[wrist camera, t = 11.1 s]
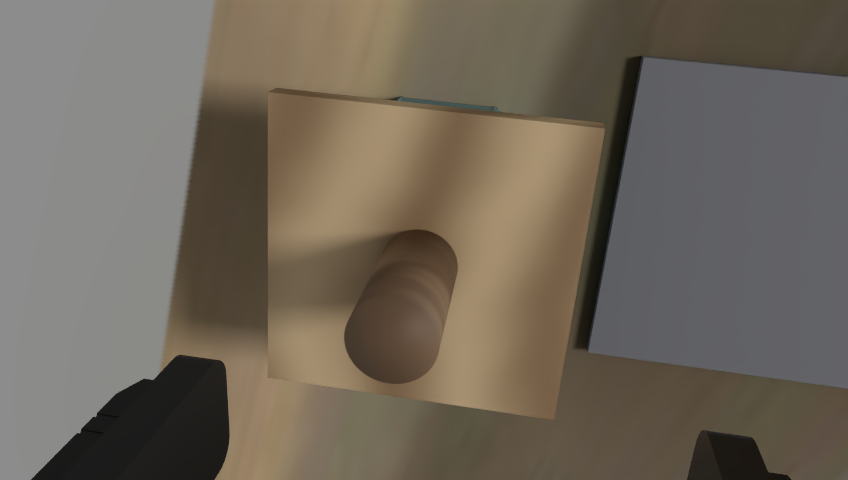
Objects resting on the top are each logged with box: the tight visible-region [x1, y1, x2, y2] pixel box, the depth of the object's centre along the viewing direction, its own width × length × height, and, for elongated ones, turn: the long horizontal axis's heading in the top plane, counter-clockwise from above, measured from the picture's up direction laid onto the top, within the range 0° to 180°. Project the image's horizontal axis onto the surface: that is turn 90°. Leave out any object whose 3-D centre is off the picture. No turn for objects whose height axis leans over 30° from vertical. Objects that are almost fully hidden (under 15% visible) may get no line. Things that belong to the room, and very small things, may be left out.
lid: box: [268, 88, 605, 420], centre depth 27 cm, size 13×13×8 cm
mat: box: [587, 56, 848, 388], centre depth 34 cm, size 15×15×1 cm
